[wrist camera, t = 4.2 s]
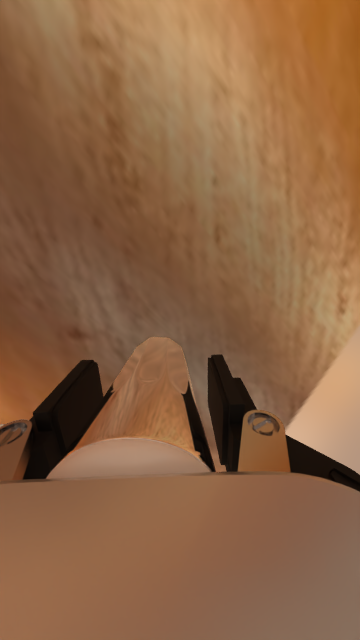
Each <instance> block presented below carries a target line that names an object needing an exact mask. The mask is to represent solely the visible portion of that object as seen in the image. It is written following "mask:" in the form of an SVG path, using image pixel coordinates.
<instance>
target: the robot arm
mask: <svg viewBox="0 0 360 640" xmlns="http://www.w3.org/2000/svg"><path fill="white" fill-rule="evenodd" d="M102 399H103V392H102V386H101V381H100V375H99V369H98V364H97V363H96V362H94V361H93V360H82V361H80V362H79V363H78V364H77V366H76V367H75V368H74V369H73V370H72V371H71V372H70V373H69V374H68V375H67V376H66V377H65V379H64V380H63V381H62V382H61V383H60V384H59V385H58V386H57V387H56V388H55V389H54V390H53V391H52V393H51V394H50V395H49V396H48V397H47V398H46V399H45V400H44V401H43V402H42V403H41V404H40V405H39V407H38V408H37V409H36V410H35V411H34V412H33V417H32V418H31V419H30V420H24V419H21V420H16V421H13V422H10V423H7V424H5V425H3V426H1V427H0V640H360V475H359V474H358V473H356V472H355V471H353V470H352V469H350V468H348V467H347V466H345V465H343V464H341V463H339V462H336V461H335V460H333V459H331V458H329V457H327V456H325V455H324V454H322V453H320V452H318V451H316V450H314V449H312V448H310V447H308V446H306V445H304V444H303V443H300V442H299V441H297V440H295V439H293V438H291V437H289V436H287V435H285V428H284V425H283V423H282V422H281V420H280V419H279V418H278V417H276V416H275V415H274V414H272V413H270V412H267V411H264V410H257V409H256V407H255V405H254V403H253V401H252V399H251V397H250V395H249V393H248V391H247V389H246V388H245V386H244V384H243V382H242V380H241V378H233V377H232V375H231V373H230V371H229V368H228V366H227V364H226V362H225V360H224V358H223V355H212V356H211V358H208V406H209V411H210V416H211V421H212V425H213V430H214V435H215V440H216V445H217V449H218V454H219V459H220V463H221V465H225V466H226V470H227V472H200V473H172V474H144V475H119V476H95V477H72V478H51V479H46V478H47V476H48V475H49V473H50V472H51V471H52V470H53V469H54V467H55V466H56V465H57V463H58V462H59V460H60V459H61V457H62V456H63V455H64V453H65V452H66V450H67V449H68V447H69V446H70V445H71V443H72V442H73V440H74V439H75V438H76V436H77V435H78V433H79V432H80V430H81V429H82V428H83V426H84V425H85V423H86V422H87V421H88V419H89V418H90V416H91V415H92V413H93V412H94V411H95V409H96V408H97V406H98V405H99V403H100V402H101V400H102Z"/></svg>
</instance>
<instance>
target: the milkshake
mask: <svg viewBox="0 0 360 640" xmlns="http://www.w3.org/2000/svg"><path fill="white" fill-rule="evenodd" d="M200 472H216V470H215V466H214V463H213V459H212V456H211V452H210V448H209V445H208V441H207V438H206V434H205V431H204V428H203V424H202V421H201V418H200V415H199V412H198V409H197V405H196V401H195V396H194V392H193V388H192V383H191V379H190V375H189V371H188V366H187V362H186V359H185V356H184V353H183V349H182V347H181V346H180V345H178V344H177V343H175V342H174V341H173V340H171V339H170V338H168V337H150V338H149V339H147V340H146V341H144V342H142V343H141V344H139V345H138V346H137V347H136V348H135V350H134V351H133V353H132V354H131V356H130V358H129V359H128V361H127V362H126V364H125V365H124V367H123V368H122V370H121V371H120V373H119V374H118V376H117V377H116V379H115V381H114V382H113V384H112V385H111V387H110V388H109V390H108V391H107V393H106V394H105V396H104V398H103V399H102V400H101V402H100V403H99V405H98V406H97V408H96V409H95V411H94V412H93V413H92V415H91V416H90V418H89V419H88V421H87V422H86V423H85V425H84V426H83V428H82V429H81V430H80V432H79V433H78V435H77V436H76V438H75V439H74V440H73V442H72V443H71V445H70V446H69V447H68V449H67V450H66V452H65V453H64V455H63V456H62V457H61V459H60V460H59V462H58V463H57V465H56V466H55V467H54V469H53V470H52V471H51V472H50V473H49V475H48V476H47V478H46V479H51V478H72V477H95V476H119V475H144V474H172V473H200Z"/></svg>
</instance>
